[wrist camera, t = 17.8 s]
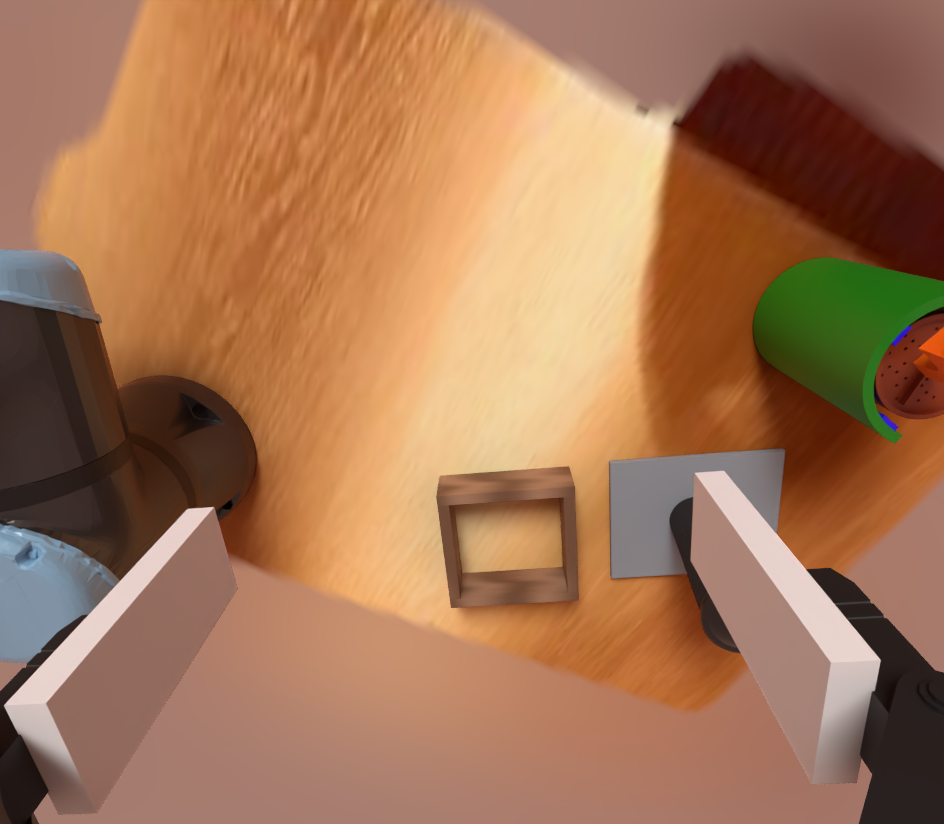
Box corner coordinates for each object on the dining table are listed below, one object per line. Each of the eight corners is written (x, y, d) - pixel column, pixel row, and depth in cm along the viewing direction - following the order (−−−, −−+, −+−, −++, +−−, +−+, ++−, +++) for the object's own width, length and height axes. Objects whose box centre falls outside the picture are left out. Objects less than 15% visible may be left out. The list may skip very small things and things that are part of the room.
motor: (805, 388, 53) (980, 499, 34) (727, 337, 51) (865, 423, 32) (890, 290, 49) (1135, 354, 31) (809, 233, 48) (1015, 263, 29)
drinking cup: (637, 524, 57) (709, 687, 39) (693, 468, 55) (799, 613, 36) (694, 564, 59) (789, 740, 40) (751, 512, 56) (880, 673, 38)
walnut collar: (453, 582, 61) (451, 607, 57) (439, 475, 57) (436, 496, 53) (573, 574, 60) (578, 600, 57) (568, 466, 56) (574, 486, 52)
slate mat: (610, 574, 60) (611, 578, 60) (609, 460, 56) (610, 463, 55) (770, 564, 59) (772, 568, 59) (782, 448, 55) (785, 450, 54)
